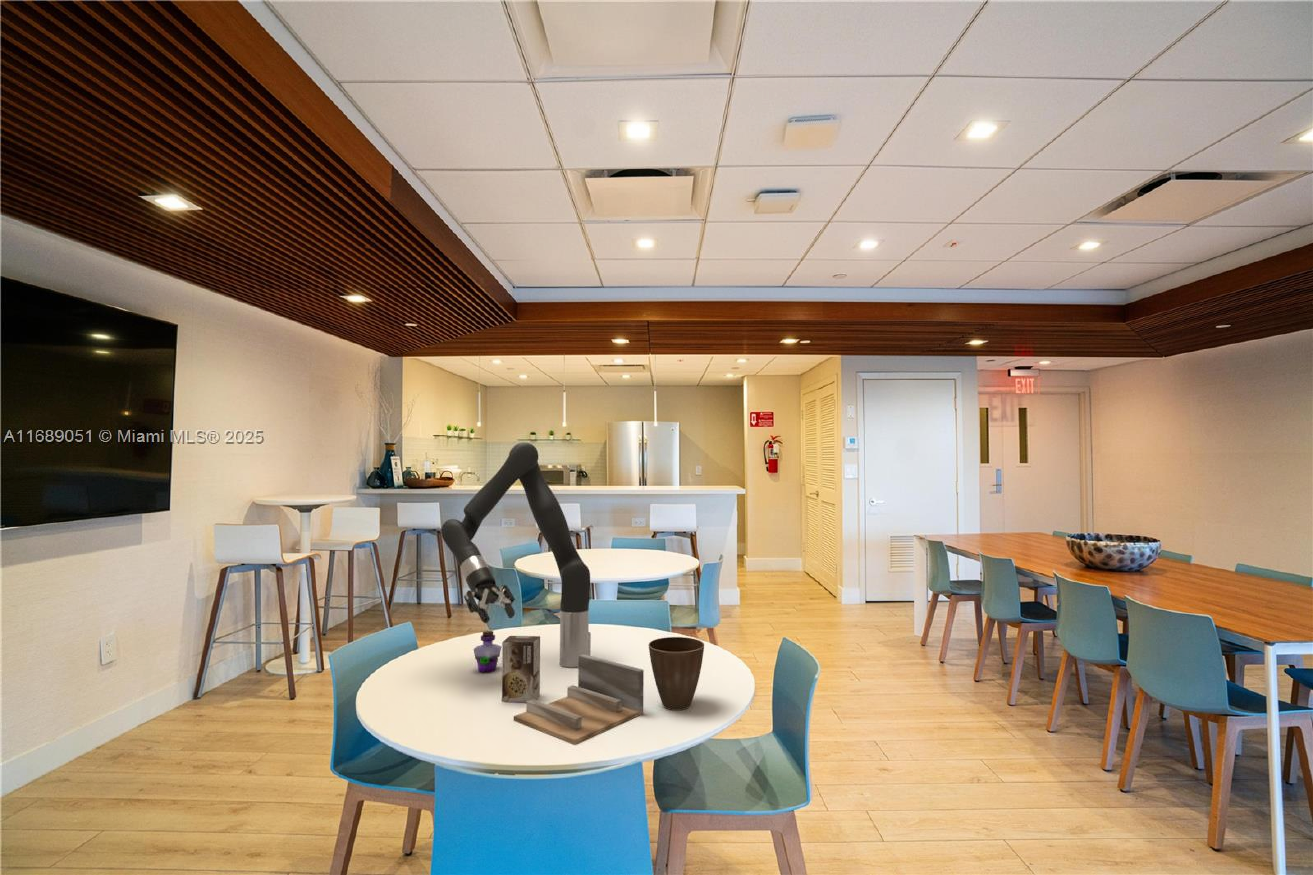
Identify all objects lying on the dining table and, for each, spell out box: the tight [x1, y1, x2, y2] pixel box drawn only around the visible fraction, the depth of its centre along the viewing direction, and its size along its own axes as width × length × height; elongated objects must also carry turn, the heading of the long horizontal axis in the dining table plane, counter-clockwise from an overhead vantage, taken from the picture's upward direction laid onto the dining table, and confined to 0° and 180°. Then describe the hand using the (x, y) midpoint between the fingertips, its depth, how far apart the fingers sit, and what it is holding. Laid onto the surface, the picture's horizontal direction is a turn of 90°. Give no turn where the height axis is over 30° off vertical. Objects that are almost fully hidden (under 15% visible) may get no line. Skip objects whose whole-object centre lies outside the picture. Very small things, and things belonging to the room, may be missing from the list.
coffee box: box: [501, 635, 541, 703], centre depth 169 cm, size 9×6×16 cm
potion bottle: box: [473, 630, 502, 674], centre depth 193 cm, size 9×9×12 cm
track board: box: [513, 654, 644, 745], centre depth 155 cm, size 24×22×11 cm
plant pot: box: [648, 636, 705, 710], centre depth 164 cm, size 15×15×16 cm
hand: (500, 619), depth 176 cm, fingers open, 8 cm apart
